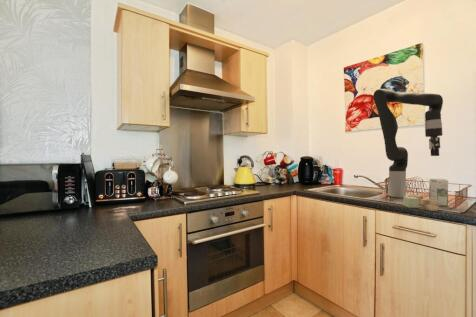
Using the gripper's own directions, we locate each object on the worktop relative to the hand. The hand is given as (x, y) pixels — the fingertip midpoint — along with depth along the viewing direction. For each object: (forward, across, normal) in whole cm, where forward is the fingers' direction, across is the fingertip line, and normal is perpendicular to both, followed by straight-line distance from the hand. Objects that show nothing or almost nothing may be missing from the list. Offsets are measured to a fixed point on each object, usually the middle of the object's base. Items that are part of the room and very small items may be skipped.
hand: (434, 155), depth 131 cm
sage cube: (+27, +17, -14) cm, 35 cm away
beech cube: (+28, +20, -7) cm, 35 cm away
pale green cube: (+27, +9, -11) cm, 31 cm away
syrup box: (+28, +6, -1) cm, 28 cm away
